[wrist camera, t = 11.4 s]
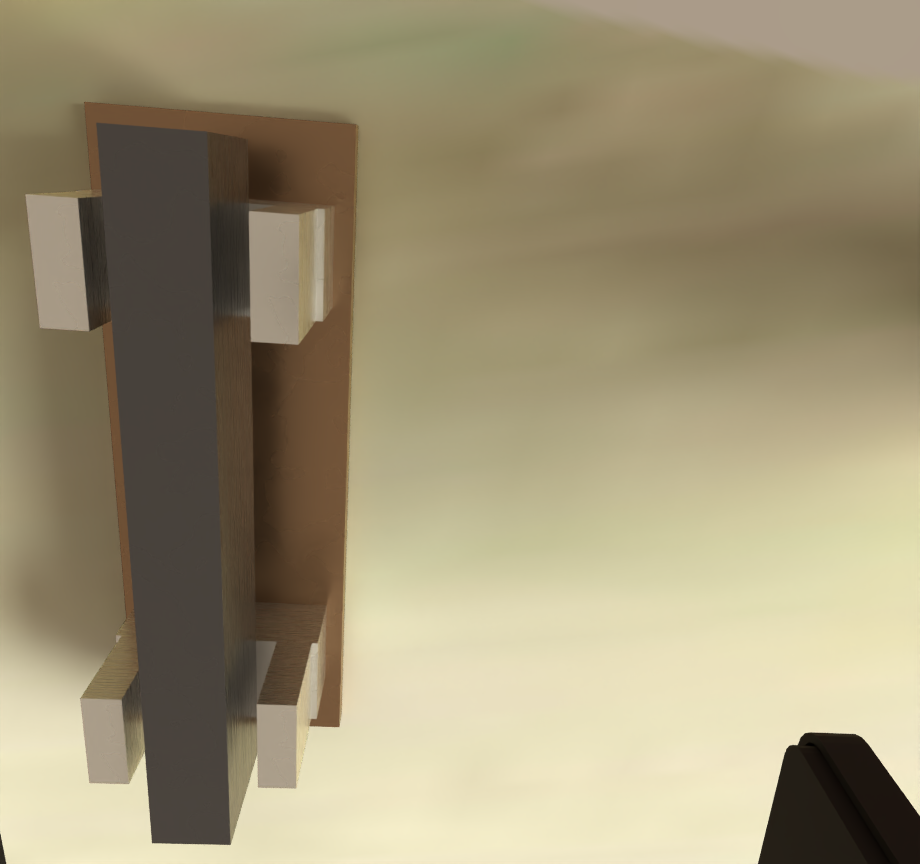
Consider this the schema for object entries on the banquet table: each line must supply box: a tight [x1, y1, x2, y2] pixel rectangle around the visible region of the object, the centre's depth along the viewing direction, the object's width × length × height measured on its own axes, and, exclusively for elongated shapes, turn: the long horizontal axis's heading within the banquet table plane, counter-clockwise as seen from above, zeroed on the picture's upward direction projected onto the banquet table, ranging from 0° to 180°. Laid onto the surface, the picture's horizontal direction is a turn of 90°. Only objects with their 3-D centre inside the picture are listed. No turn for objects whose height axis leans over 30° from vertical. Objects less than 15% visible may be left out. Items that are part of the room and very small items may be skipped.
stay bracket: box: [25, 102, 358, 788], centre depth 30 cm, size 10×28×8 cm, turn 176°
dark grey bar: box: [96, 123, 257, 845], centre depth 27 cm, size 3×26×5 cm, turn 176°
